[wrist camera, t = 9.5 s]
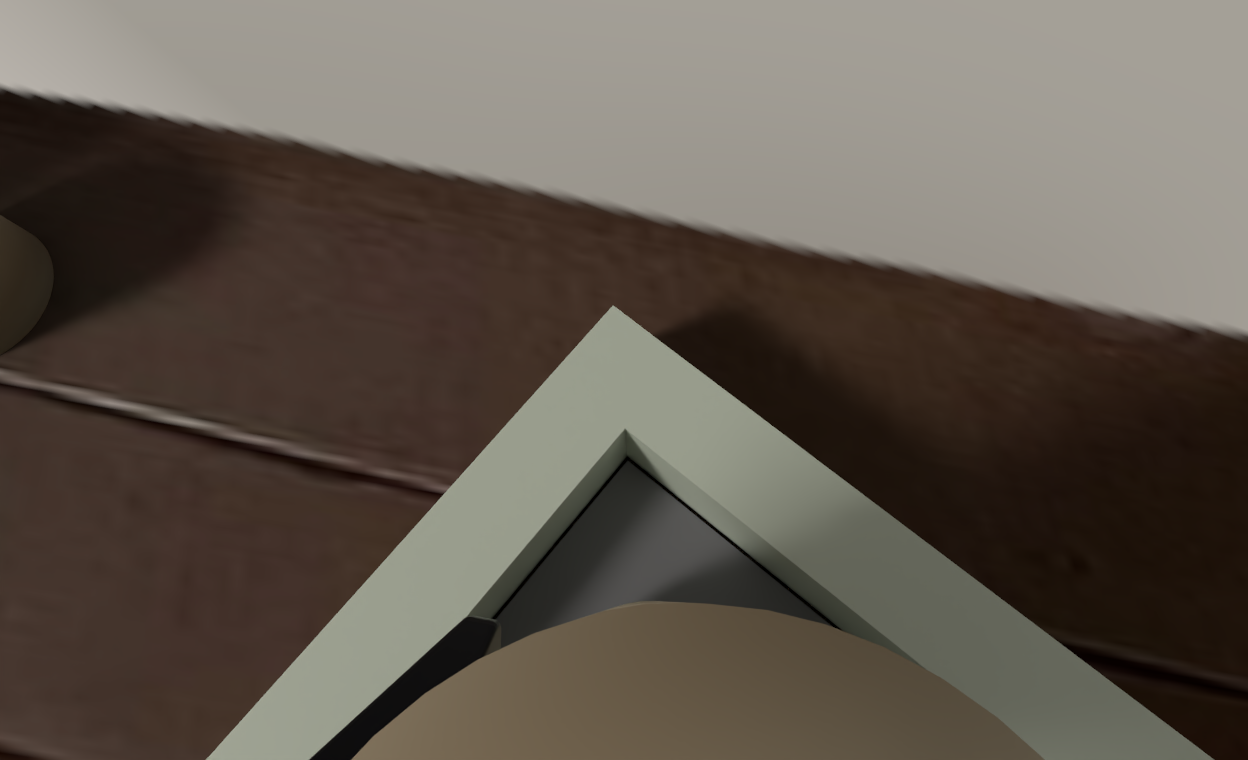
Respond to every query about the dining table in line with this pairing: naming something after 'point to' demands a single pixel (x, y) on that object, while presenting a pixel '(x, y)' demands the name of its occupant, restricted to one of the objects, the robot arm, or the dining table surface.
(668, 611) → the long pin
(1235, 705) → the dining table surface
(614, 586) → the pin board
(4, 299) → the short pin
